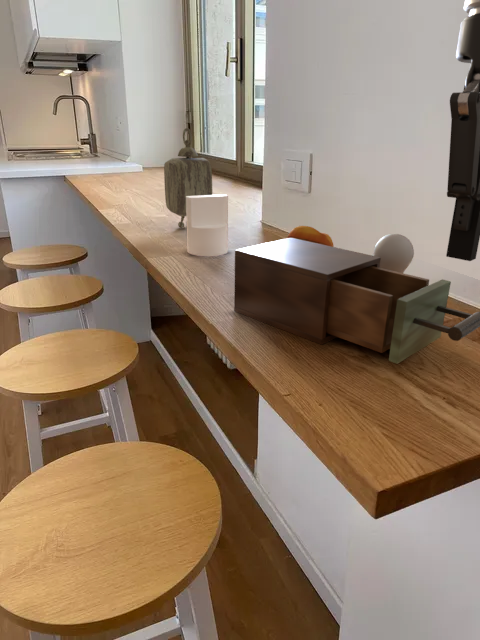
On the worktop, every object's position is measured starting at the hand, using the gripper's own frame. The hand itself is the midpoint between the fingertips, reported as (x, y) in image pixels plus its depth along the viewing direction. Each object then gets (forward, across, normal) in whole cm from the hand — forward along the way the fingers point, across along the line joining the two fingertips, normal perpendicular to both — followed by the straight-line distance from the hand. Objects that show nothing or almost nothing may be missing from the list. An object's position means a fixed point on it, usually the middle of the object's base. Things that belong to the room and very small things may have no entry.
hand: (460, 257), depth 55 cm
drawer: (+12, 0, -8) cm, 14 cm away
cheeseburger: (+14, -18, -36) cm, 42 cm away
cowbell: (+13, -28, -84) cm, 89 cm away
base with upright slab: (+13, -15, -60) cm, 64 cm away
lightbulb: (+14, -16, -16) cm, 27 cm away
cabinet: (+13, 0, -22) cm, 25 cm away
